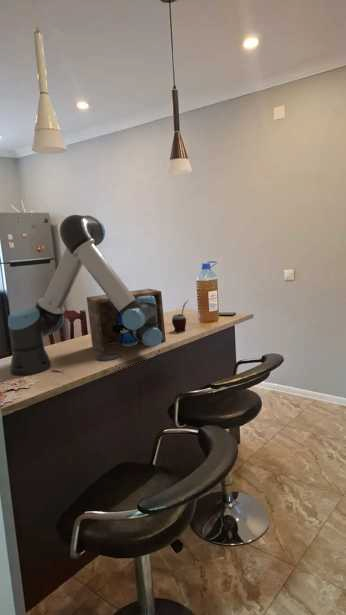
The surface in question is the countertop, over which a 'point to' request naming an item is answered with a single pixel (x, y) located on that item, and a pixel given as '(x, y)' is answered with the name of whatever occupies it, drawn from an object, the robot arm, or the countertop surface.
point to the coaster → (108, 356)
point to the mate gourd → (179, 321)
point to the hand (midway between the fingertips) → (124, 323)
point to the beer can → (125, 335)
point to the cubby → (115, 317)
